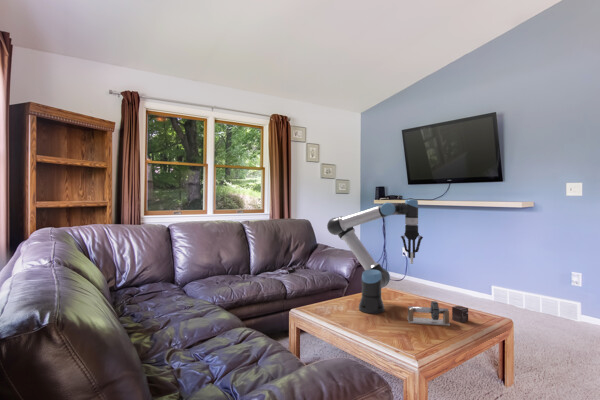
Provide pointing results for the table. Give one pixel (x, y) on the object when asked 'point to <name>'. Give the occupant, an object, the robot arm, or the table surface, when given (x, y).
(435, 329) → the table surface
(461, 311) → the box
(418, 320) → the pipe rig
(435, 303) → the grey hex nut
